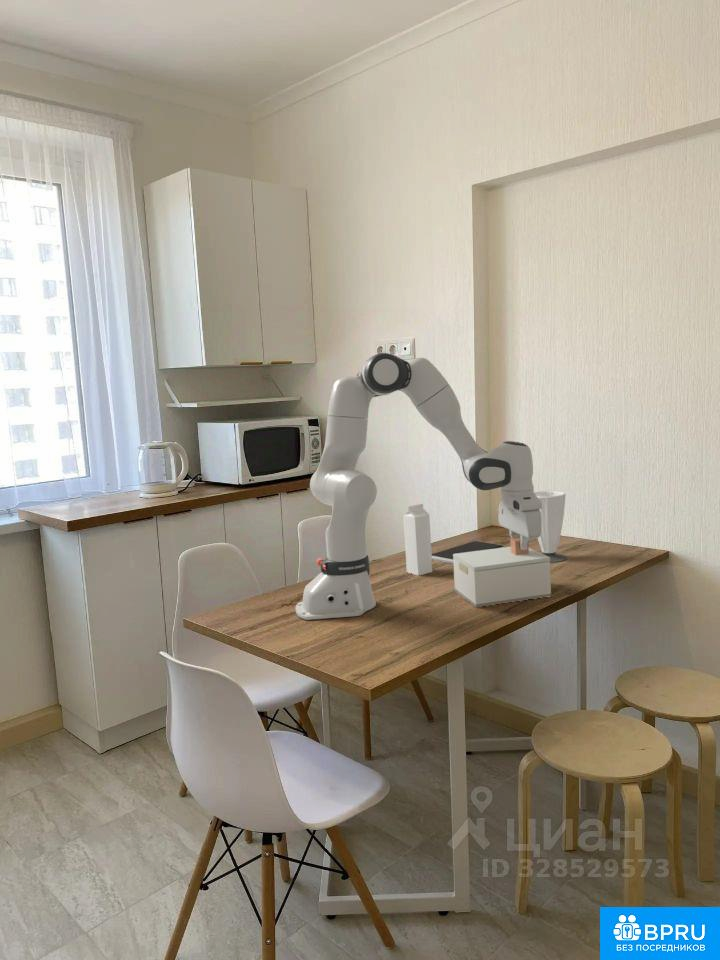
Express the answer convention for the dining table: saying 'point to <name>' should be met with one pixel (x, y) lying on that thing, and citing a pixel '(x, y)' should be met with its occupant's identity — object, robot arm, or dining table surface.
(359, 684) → the dining table surface
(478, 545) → the smartphone
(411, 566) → the milk
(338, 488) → the robot arm
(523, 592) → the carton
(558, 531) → the cup
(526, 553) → the lid
